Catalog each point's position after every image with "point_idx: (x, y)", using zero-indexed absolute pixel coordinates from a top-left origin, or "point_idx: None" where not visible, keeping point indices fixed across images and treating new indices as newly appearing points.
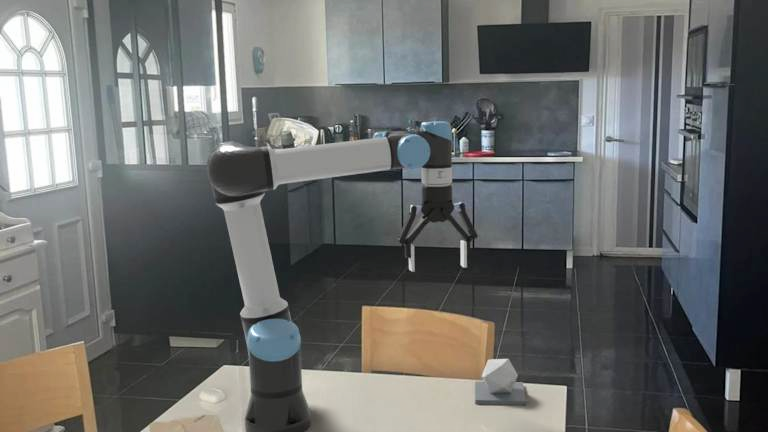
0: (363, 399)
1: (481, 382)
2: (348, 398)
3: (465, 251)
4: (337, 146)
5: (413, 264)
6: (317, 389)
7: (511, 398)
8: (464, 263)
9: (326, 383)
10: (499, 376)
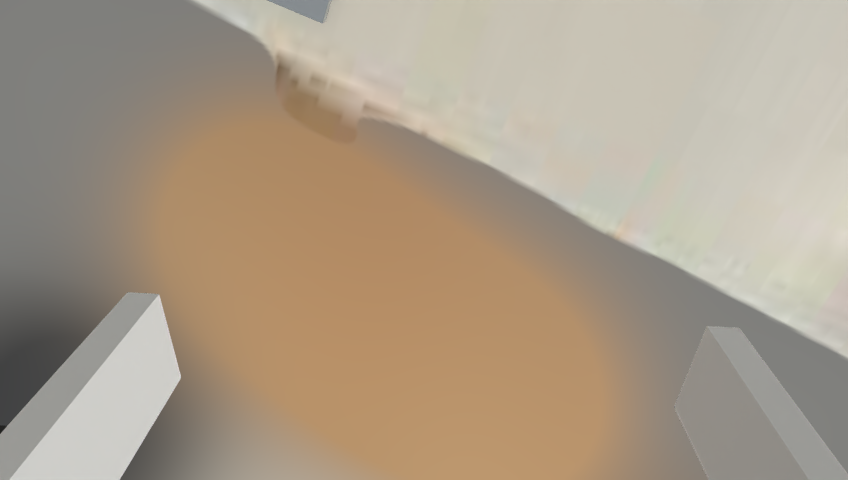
0: (735, 30)
1: (303, 5)
2: (775, 57)
3: (16, 440)
4: None
5: (757, 384)
6: (819, 165)
7: None
8: (128, 323)
9: (767, 202)
10: None
